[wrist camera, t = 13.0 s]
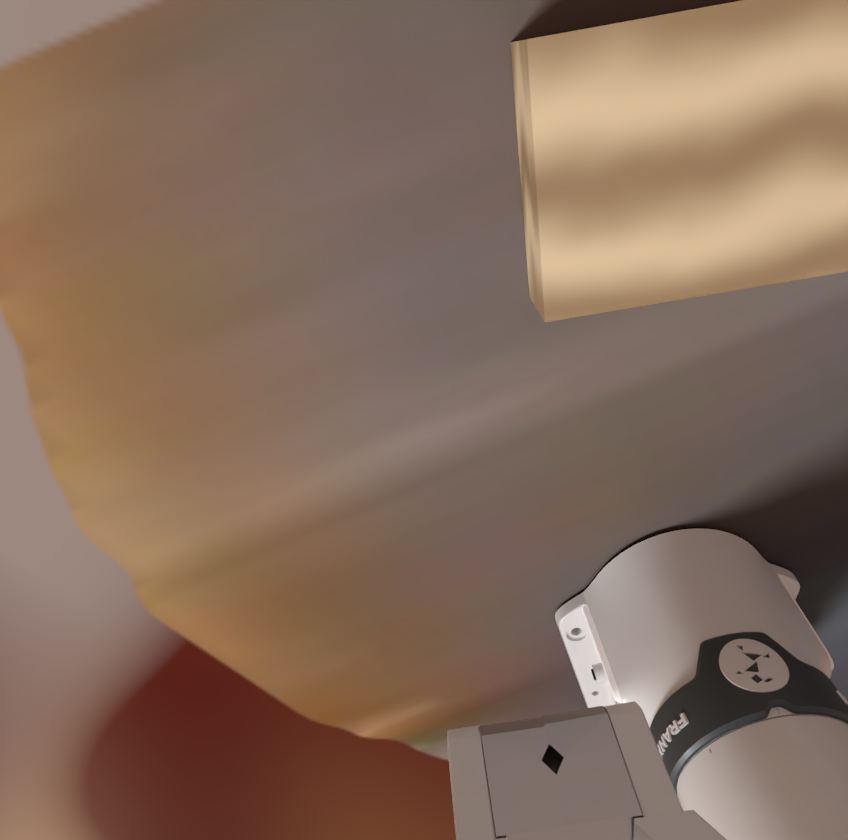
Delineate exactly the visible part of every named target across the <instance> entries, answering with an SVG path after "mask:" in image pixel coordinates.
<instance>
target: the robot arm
mask: <svg viewBox="0 0 848 840" xmlns="http://www.w3.org/2000/svg"><path fill="white" fill-rule="evenodd" d="M799 590H800V584H799V582H798V581H797V579H796V577H795V576H794V574H793V573H792V572H790V571H789V570H787V569H784V568H782V567H779V566H776V565H773V564H770V563H768V562H767V561H766V560H765V559H764V558H763V557H762V556H761V555H760V554H759V552H758V551H757V550H756V549H755V548H754V547H753V546H752V545H751V544H750V543H748V542H747V541H745V540H744V539H742V538H740V537H738V536H736V535H733V534H731V533H728V532H724V531H720V530H714V529H701V528H698V529H683V530H677V531H671V532H667V533H663V534H660V535H657V536H654V537H651V538H648V539H646V540H644V541H641V542H639V543H637V544H635V545H634V546H632V547H630V548H628V549H627V550H625V551H623V552H622V553H621V554H619V555H618V556H616V557H615V558H614V559H613V560H612V561H610V562H609V563H608V564H607V565H606V566H605V567H604V568H603V569H602V570H601V571H600V572H599V574H598V575H597V576H596V578H595V579H594V580H593V581H592V583H591V584H590V585H589V586H588V588H587V589H586V590H585V591H584V592H582V593H581V594H579V595H577V596H576V597H574V598H573V599H571V600H570V601H568V602H567V603H565V604H564V605H563V606H561V607H560V608H559V609H558V610H557V612H556V614H555V620H556V623H557V626H558V628H559V631H560V634H561V637H562V639H563V642H564V645H565V647H566V650H567V653H568V656H569V658H570V661H571V664H572V666H573V669H574V672H575V675H576V677H577V680H578V683H579V685H580V688H581V691H582V694H583V696H584V699H585V702H586V704H587V707H588V708H586V709H580V710H574V711H568V712H562V713H557V714H551V715H545V716H541V717H536V718H529V719H522V720H516V721H509V722H502V723H495V724H488V725H481V726H480V727H479V725H477V726H471V727H465V728H459V729H452V730H448V734H447V746H448V756H449V767H450V778H451V788H452V799H453V810H454V820H455V831H456V840H848V701H847V699H846V698H845V697H844V695H842V694H841V693H840V692H839V691H838V690H837V688H836V687H835V686H834V684H833V683H832V681H831V680H830V677H831V672H832V670H833V668H834V664H833V660H832V658H831V656H830V654H829V653H828V651H827V649H826V648H825V646H824V645H823V643H822V641H821V640H820V638H819V637H818V635H817V634H816V632H815V630H814V629H813V627H812V626H811V624H810V622H809V621H808V619H807V618H806V616H805V615H804V613H803V612H802V610H801V608H800V607H799V605H798V604H797V602H796V601H795V599H796V597H797V595H798V593H799ZM480 731H481V732H480Z"/></svg>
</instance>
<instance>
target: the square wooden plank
mask: <svg viewBox="0 0 848 840" xmlns="http://www.w3.org/2000/svg"><path fill="white" fill-rule="evenodd" d="M510 43H511V56H512V70H513V83H514V96H515V109H516V123H517V136H518V149H519V162H520V175H521V189H522V202H523V215H524V228H525V241H526V255H527V268H528V281H529V294H530V299H531V301H532V302H533V304H534V305H535V307H536V309H537V310H538V312H539V313H540V315H541V317H542V318H543V320H544V321H545V322H550V321H555V320H561V319H567V318H573V317H579V316H585V315H591V314H597V313H603V312H609V311H615V310H621V309H627V308H633V307H639V306H645V305H651V304H656V303H662V302H668V301H674V300H680V299H686V298H692V297H698V296H704V295H710V294H716V293H722V292H728V291H734V290H740V289H746V288H752V287H757V286H763V285H769V284H775V283H781V282H787V281H793V280H799V279H805V278H811V277H817V276H823V275H829V274H835V273H841V272H847V271H848V0H741V1H736V2H730V3H725V4H719V5H714V6H708V7H702V8H697V9H691V10H686V11H680V12H675V13H669V14H664V15H658V16H653V17H647V18H642V19H636V20H631V21H625V22H620V23H614V24H609V25H603V26H598V27H592V28H587V29H581V30H575V31H570V32H564V33H559V34H553V35H548V36H542V37H537V38H531V39H526V40H520V41H515V42H510Z"/></svg>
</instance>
